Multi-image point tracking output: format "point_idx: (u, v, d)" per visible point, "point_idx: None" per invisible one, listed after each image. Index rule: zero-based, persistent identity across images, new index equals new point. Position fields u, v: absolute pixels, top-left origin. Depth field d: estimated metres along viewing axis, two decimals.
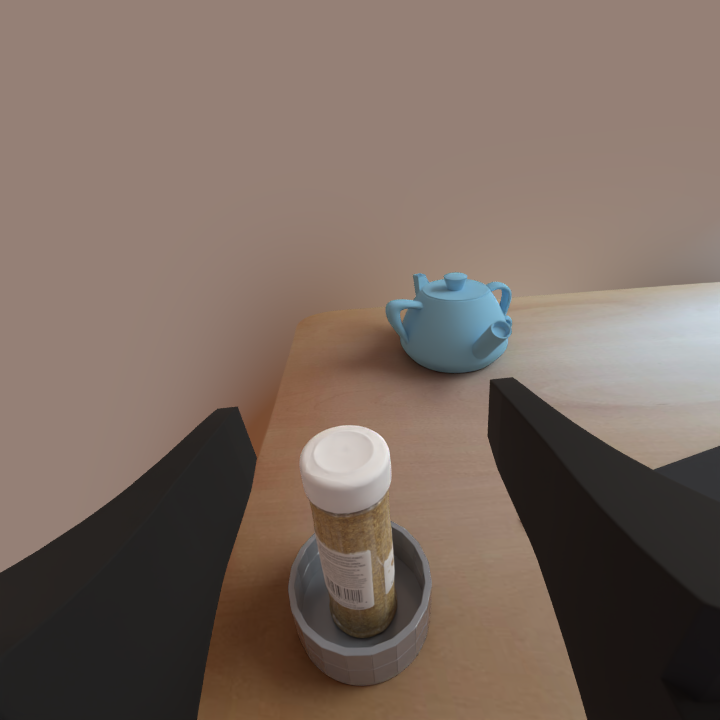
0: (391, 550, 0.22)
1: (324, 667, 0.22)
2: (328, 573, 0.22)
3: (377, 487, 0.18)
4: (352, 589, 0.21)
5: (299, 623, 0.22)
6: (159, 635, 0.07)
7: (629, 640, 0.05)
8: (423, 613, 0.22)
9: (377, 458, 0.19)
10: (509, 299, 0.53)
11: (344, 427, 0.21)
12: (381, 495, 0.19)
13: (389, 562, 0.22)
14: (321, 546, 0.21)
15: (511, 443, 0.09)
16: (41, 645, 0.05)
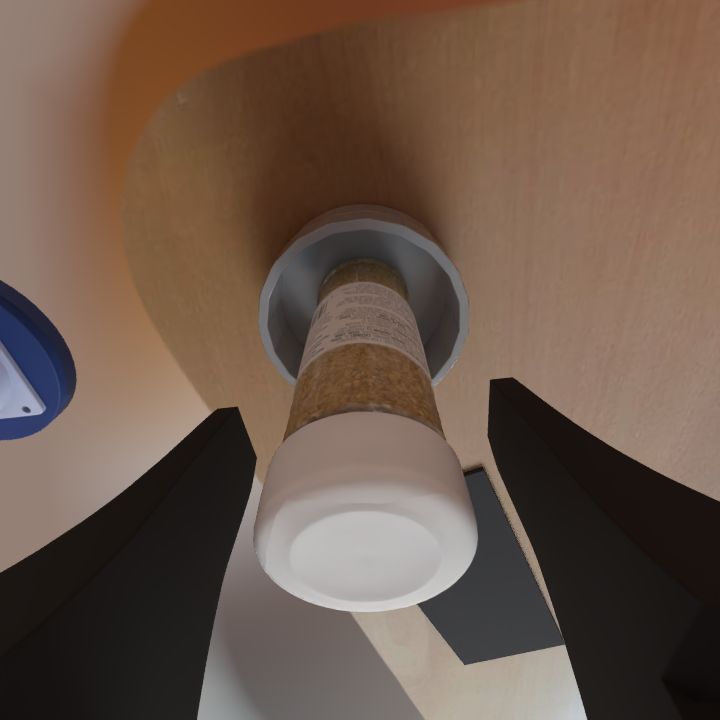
0: None
1: None
2: (314, 329, 0.13)
3: None
4: None
5: (280, 258, 0.15)
6: (159, 635, 0.07)
7: (629, 640, 0.05)
8: None
9: (347, 605, 0.08)
10: None
11: (461, 547, 0.07)
12: None
13: None
14: (309, 357, 0.11)
15: (511, 443, 0.09)
16: (41, 645, 0.05)
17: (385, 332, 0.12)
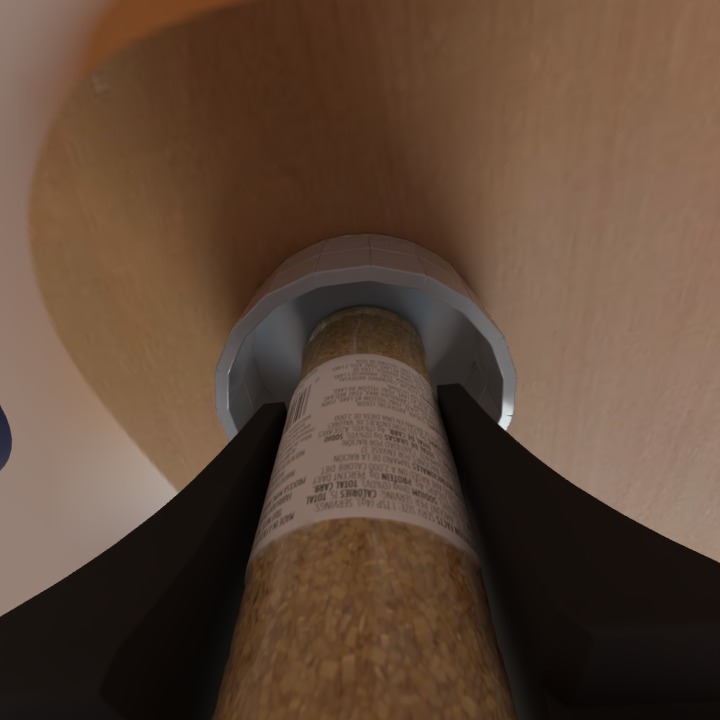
0: None
1: None
2: (286, 441, 0.09)
3: None
4: None
5: (242, 321, 0.10)
6: (232, 630, 0.07)
7: (522, 646, 0.05)
8: None
9: None
10: None
11: None
12: None
13: None
14: (270, 524, 0.07)
15: (451, 449, 0.09)
16: (146, 639, 0.05)
17: (401, 478, 0.07)
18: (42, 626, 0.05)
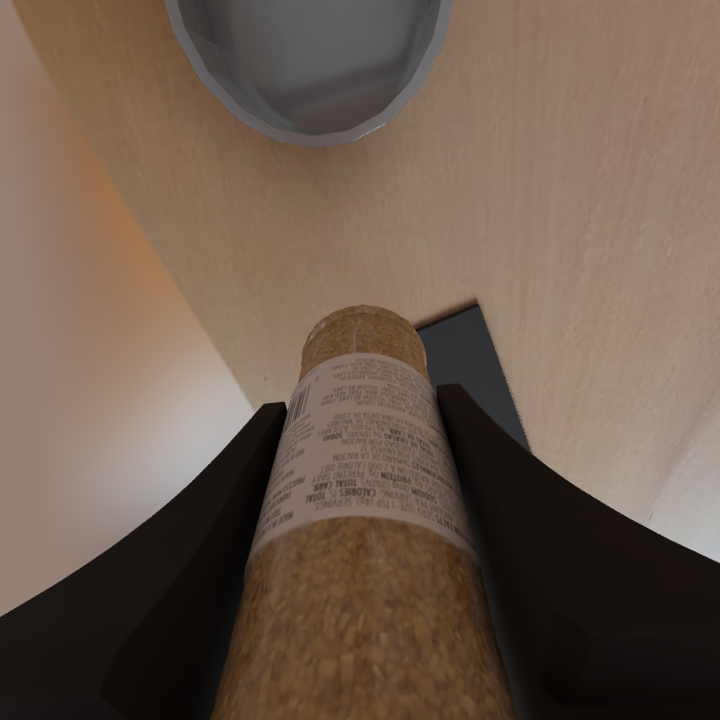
0: None
1: None
2: (286, 440, 0.09)
3: None
4: None
5: None
6: None
7: (522, 646, 0.05)
8: (261, 132, 0.13)
9: None
10: None
11: None
12: None
13: None
14: (269, 523, 0.07)
15: (451, 449, 0.09)
16: (147, 638, 0.05)
17: (400, 477, 0.07)
18: (43, 626, 0.05)
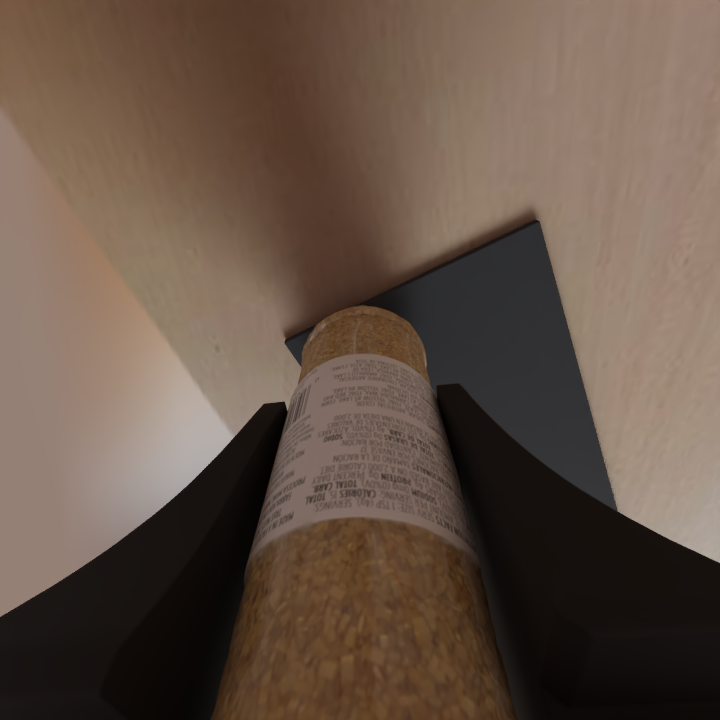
0: None
1: None
2: (286, 441, 0.09)
3: None
4: None
5: None
6: None
7: (522, 646, 0.05)
8: None
9: None
10: None
11: None
12: None
13: None
14: (270, 524, 0.07)
15: (451, 449, 0.09)
16: (147, 639, 0.05)
17: (400, 477, 0.07)
18: (43, 626, 0.05)
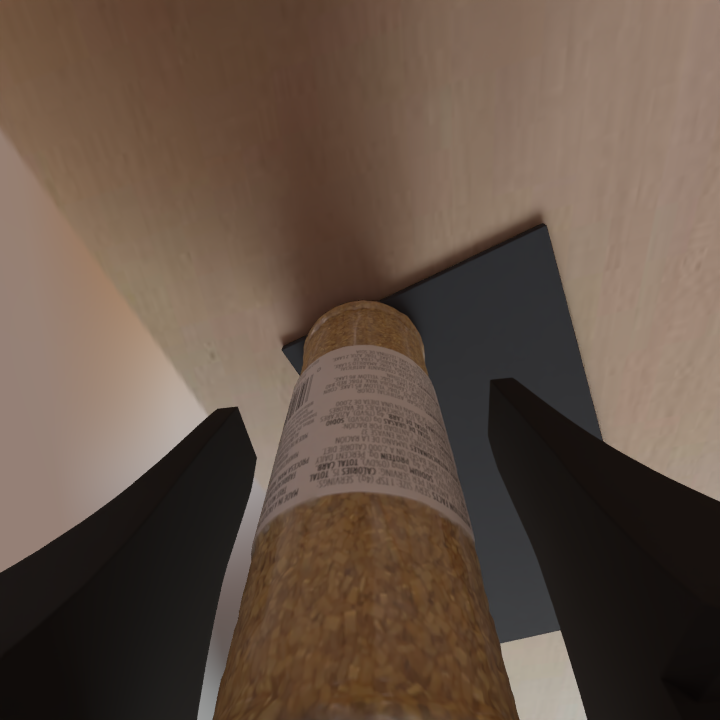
0: None
1: None
2: (290, 427, 0.09)
3: None
4: None
5: None
6: (159, 635, 0.07)
7: (629, 640, 0.05)
8: None
9: None
10: None
11: None
12: None
13: None
14: (276, 501, 0.07)
15: (511, 443, 0.09)
16: (41, 645, 0.05)
17: (399, 458, 0.07)
18: None
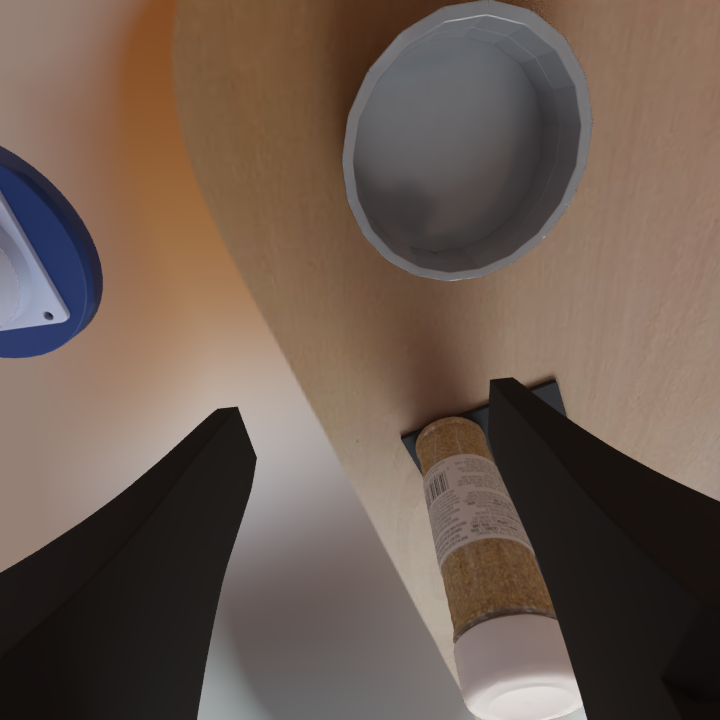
0: None
1: None
2: (443, 501, 0.19)
3: None
4: (429, 511, 0.21)
5: (379, 59, 0.12)
6: (159, 635, 0.07)
7: (629, 640, 0.05)
8: (406, 270, 0.16)
9: None
10: None
11: None
12: None
13: None
14: (455, 540, 0.17)
15: (511, 443, 0.09)
16: (41, 645, 0.05)
17: (504, 521, 0.18)
18: None
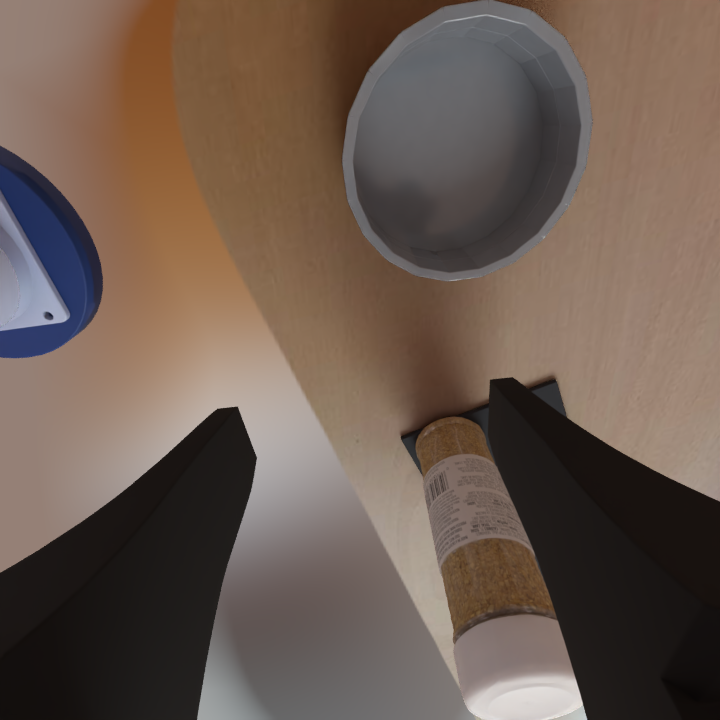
0: None
1: None
2: (443, 501, 0.19)
3: None
4: (429, 511, 0.21)
5: (379, 59, 0.12)
6: (159, 635, 0.07)
7: (629, 640, 0.05)
8: (406, 270, 0.16)
9: None
10: None
11: None
12: None
13: None
14: (455, 540, 0.17)
15: (511, 443, 0.09)
16: (41, 645, 0.05)
17: (504, 521, 0.18)
18: None
